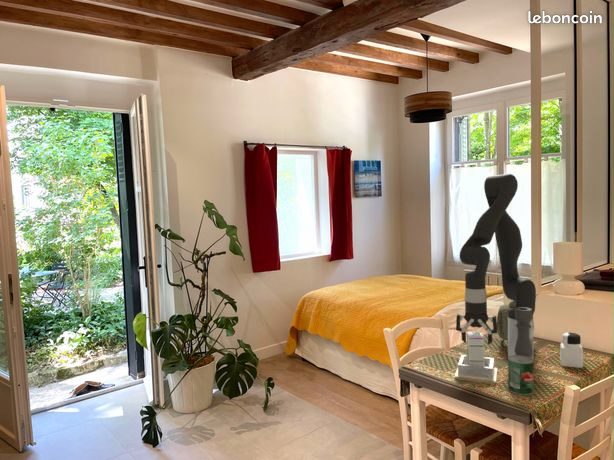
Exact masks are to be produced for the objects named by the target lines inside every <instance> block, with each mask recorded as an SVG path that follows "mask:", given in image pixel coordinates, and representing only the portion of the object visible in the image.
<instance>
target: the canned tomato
mask: <svg viewBox="0 0 614 460" xmlns="http://www.w3.org/2000/svg"><path fill="white" fill-rule="evenodd" d="M507 363H508V365H507V366H508V367H507V371H508V372H507V375H508V376H507V377H508V378H507V379H508V382H507V383H508V384H507V385H508V388H507V390H508V391H509V392H510V393H513V394H514V395H515V394H516V395H520V396H530V395H533V394H534V393H535V390H534V358H533V359H532V358H530V357H527V356H521V355H512V356H509V357H508V356H507Z"/></svg>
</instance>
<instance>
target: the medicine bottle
mask: <svg viewBox="0 0 614 460" xmlns="http://www.w3.org/2000/svg"><path fill="white" fill-rule="evenodd" d="M581 338H582V337H581V335H580V334H578V333H576V332H565V333H563V334H562V342H561V343H560V344H559V345H560V349H559V350H560V351H559V352H560V355H559V356H560V358H559V359H560V363H561V366H562V367H568V368H569V367H570V368H578V369H583V368H584V350H583V347H582V345H581V340H582V339H581Z"/></svg>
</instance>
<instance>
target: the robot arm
mask: <svg viewBox="0 0 614 460" xmlns="http://www.w3.org/2000/svg"><path fill="white" fill-rule="evenodd" d="M483 184H484V185H483V189H484V193H485V194H484V195H485V197H486V202H487V205H488V208H487V210H485V212H483V213H482V214H481V216H480V217H479V218H478V220H477V222H476V224H475V226H474V229H473V230H472V231H473V232H472V234H471V235H470V236H469V238H467V240H466V241H465V243H464V244H463V246H462V247H461V248H460V251H459V260H460V262H461V263H462V264H464V265H466V266H467V265H468V266H475V269H474V270H470V271H467V272H466V273H465V275H464V282H465V283H464V286H465V290H464V291H465V292H464V307H465V309H464V311H465V313H464V314H461V313H456V318H455V322H456V323H455V330H456V331H458V332H461V341H462V342H463V343H466V344H467V330H468V329H469V328H470V327H471V328H479V329H480V328H483V329H484V330H485V331H486V333H487V344H488V345H491V344H492V342H493V334H498V331H497V315H495V314H494V315H490V316H489V315H488V307H487V306H488V305H487V303H488V302H487V300H488V298H487V296H488V295H487V290H486V287H487V286H486V277H487V276H486V275H487V272H488V267H489V265H490V260H491V254H490V253H491V252H490V251H489V249H488V248H487V247H485V246H486V245H489V244H490V243H491V242H492V239H493V236H495V237H494V238H495V242H496V246H497V251H498V256H499V257H498V258H499V262H500V263H499V264H500V271H501V283H502V290H503V293H504V295H505V297H506V298H507V297H508V298H510V299H513V300H512V301H514V300H516V306H515V308H517V307H526V308H531V309H532V319H531V321H530V323H529V324H530V325H531V328H530V329H529V338H530V342H531V346H532V350H533V351H534V330H533V322H534V313H535V311H536V302H537V301H536V299H537V297H536V296H537V291H536V285H535V282H534V281H532V280H531V279H527V278H523V277H520V275H519V271H518V261H519V258H520V255H521V251H522V249H523V240H522V233H521V230H520V227H519V225H518V224H517V222H515V220H514V219H513V218H512V216H511V215H509V213H508V212H507V209H508V208H509V206H510V204H511V202H512V200H513V199H514V197H515V195H516V193H517V191H518V187H519V185H518V180H517V177H516V176H515V175H514V174H512V173H503V174H497V175H496V174H495V175H491V176H487V177H486V179H485V180H484V183H483ZM508 298H507V299H508ZM510 299H509V300H510ZM515 308H512V309H509V310H508V340H507V358H508V357H509V356H512V355H516V354H515V351H514V349H515V345H516V341H517V337H518V329H517V327H516V324H517V323H518V322H517V320H516V318H515ZM463 319H464V320H465V322H466V323H465V324H464V326H463V327H461V321H463ZM488 321H490V323H492V327H493V328H491V327H490V326H489V325H488V323H487V322H488ZM530 358H532V359H533V360H534V353H533V354H532V356H531V357H530Z"/></svg>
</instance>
